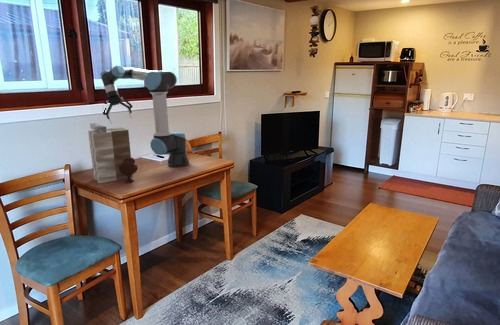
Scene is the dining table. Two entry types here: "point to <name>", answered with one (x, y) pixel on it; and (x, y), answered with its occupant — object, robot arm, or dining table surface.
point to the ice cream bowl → (128, 168)
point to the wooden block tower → (109, 153)
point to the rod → (98, 128)
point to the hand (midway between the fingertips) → (121, 120)
